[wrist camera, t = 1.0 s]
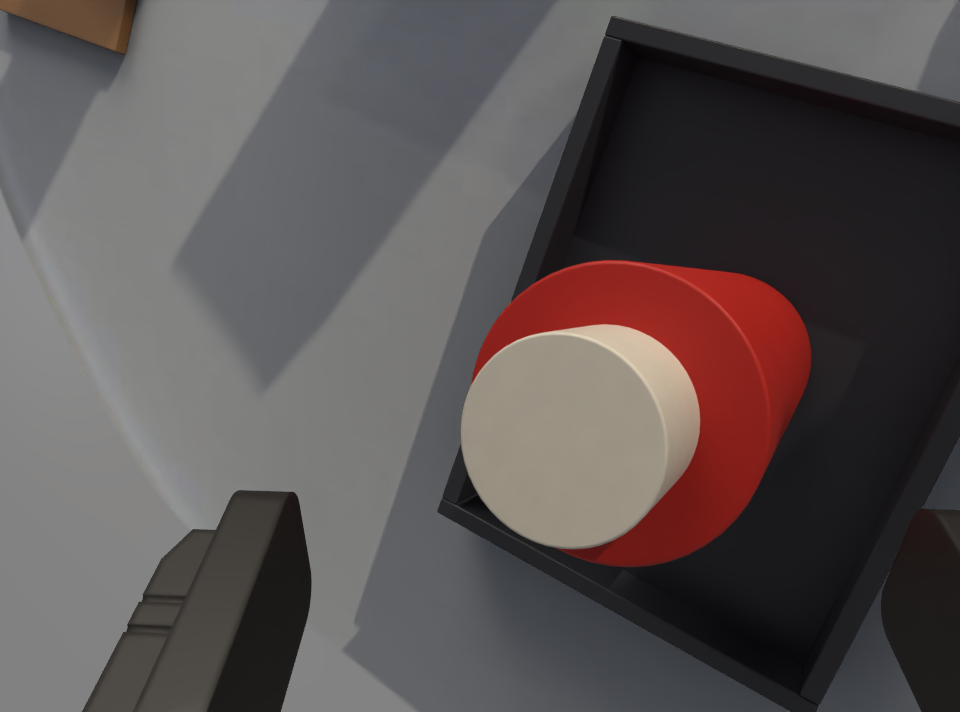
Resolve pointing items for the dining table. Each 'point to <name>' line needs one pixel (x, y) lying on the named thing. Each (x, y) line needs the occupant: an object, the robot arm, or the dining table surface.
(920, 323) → the tray
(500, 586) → the dining table surface
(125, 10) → the coaster
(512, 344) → the ketchup
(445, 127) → the dining table surface
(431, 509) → the dining table surface
